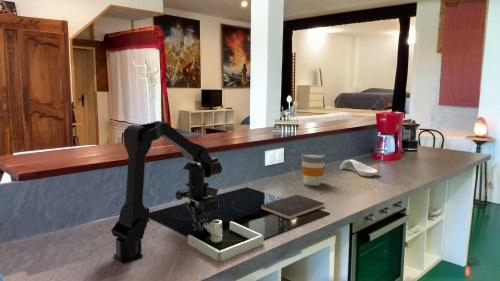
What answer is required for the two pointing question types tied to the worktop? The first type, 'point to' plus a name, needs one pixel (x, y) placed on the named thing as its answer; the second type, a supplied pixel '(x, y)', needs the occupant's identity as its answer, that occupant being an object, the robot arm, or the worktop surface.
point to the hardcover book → (292, 206)
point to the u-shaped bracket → (224, 254)
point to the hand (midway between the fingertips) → (196, 222)
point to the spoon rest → (360, 168)
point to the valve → (209, 227)
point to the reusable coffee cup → (312, 168)
